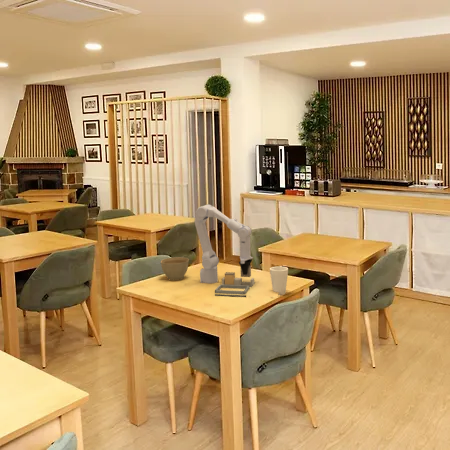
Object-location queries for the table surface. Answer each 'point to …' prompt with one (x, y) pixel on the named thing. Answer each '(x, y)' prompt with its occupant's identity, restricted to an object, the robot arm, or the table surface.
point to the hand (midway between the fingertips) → (245, 273)
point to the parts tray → (232, 291)
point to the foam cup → (279, 279)
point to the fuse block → (240, 282)
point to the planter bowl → (175, 267)
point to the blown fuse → (247, 273)
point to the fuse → (229, 278)
